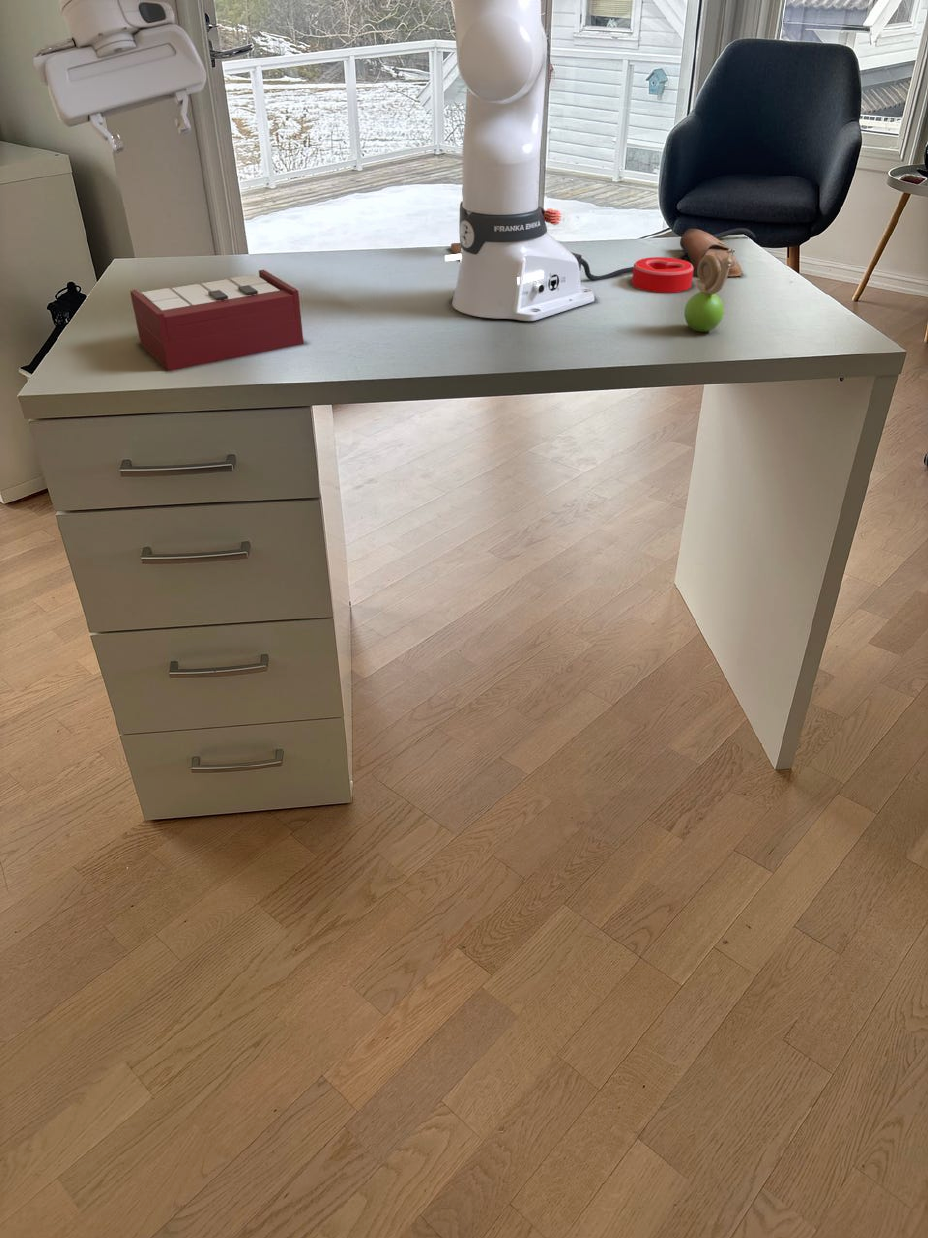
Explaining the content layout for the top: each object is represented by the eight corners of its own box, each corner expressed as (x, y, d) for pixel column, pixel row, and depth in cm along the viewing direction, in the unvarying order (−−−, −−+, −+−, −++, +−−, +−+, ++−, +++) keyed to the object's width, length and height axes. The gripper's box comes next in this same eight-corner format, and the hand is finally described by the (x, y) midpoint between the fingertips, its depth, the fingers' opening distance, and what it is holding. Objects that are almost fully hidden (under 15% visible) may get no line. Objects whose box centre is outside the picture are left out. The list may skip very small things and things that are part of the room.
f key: (170, 297, 128) (168, 287, 127) (180, 306, 125) (179, 295, 124) (142, 302, 127) (140, 292, 126) (153, 311, 124) (151, 300, 123)
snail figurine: (702, 341, 130) (716, 251, 123) (674, 327, 135) (685, 241, 128) (733, 335, 132) (748, 246, 125) (703, 322, 137) (716, 236, 130)
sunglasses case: (747, 273, 156) (732, 237, 152) (707, 295, 158) (692, 260, 154) (724, 246, 170) (710, 213, 167) (689, 266, 172) (674, 234, 169)
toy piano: (270, 320, 138) (263, 269, 133) (303, 344, 129) (298, 290, 125) (141, 344, 129) (129, 290, 125) (168, 371, 121) (157, 314, 117)
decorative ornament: (631, 291, 150) (633, 270, 148) (632, 274, 157) (634, 255, 156) (692, 294, 148) (694, 273, 146) (690, 277, 156) (693, 257, 154)
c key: (256, 283, 134) (254, 273, 133) (268, 291, 131) (267, 281, 130) (231, 287, 132) (229, 277, 131) (242, 295, 129) (241, 285, 128)
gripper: (24, 39, 115) (76, 156, 119) (181, 0, 120) (226, 113, 124) (27, 59, 120) (76, 170, 124) (177, 21, 126) (219, 128, 130)
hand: (152, 141), depth 124 cm, fingers open, 8 cm apart
